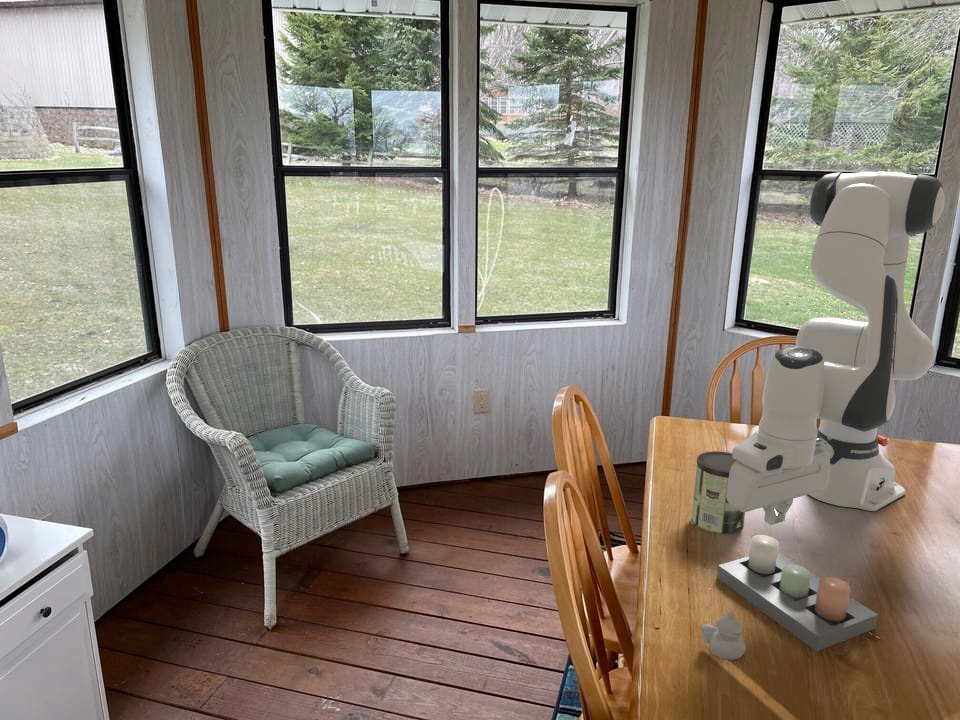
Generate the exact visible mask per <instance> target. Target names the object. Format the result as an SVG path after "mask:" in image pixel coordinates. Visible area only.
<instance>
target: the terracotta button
mask: <svg viewBox="0 0 960 720" xmlns="http://www.w3.org/2000/svg"><path fill="white" fill-rule="evenodd" d="M850 595H851V586H850V585H849V583H848V582H846V581H845V580H843V579H841V578H837V577H834V576H824V577H823V576H822V577H821V578H820V580H819V586H818V592H817V597H816V603H815V612H816V613H817V614H818V615H819V616H820V617H822V618H824V619H827V620H830V621H842V620H844V619H845V616H846V611H847V606H848V600H849V597H850Z"/></svg>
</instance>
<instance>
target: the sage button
mask: <svg viewBox="0 0 960 720" xmlns="http://www.w3.org/2000/svg"><path fill="white" fill-rule="evenodd" d="M798 565H799V564H798ZM798 565H792V564H790V565H785V566H783V568H782V573H781V580H780V586H779V590H780V591H781V592H783V593H784V594H785V595H787V596H788V597H790V598H791V599H793V600H794V601H797V600H800V599H803V598H806V597H808V592H809V586H810V580H811V573H812V572H811V571H809V569H807V568H806V567H804V566H802V565H800V566H798ZM810 572H811V573H810Z"/></svg>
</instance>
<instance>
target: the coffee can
mask: <svg viewBox="0 0 960 720" xmlns="http://www.w3.org/2000/svg"><path fill="white" fill-rule="evenodd" d="M736 461H737V460H736V459H734V458H733V457H732V452H727V451H706V452H702V453H700V454H698V455H697V457H696V463H697V464H696V471H695V479H694V480H695V483H694V490H693V491H694V492H693V503H692V511H691V517H690V523H691V525H694V524H695V525H696V526H697V527H699V528H701V529H702V530H704V531H707V532H710V533H716V534H720V535H721V534H724V535H726V534H727V535H728V534H735V533H738V532H740V531H742V530H743V529H744V523H745V516H746V512H741V511H739V510H738V509H736V508H734V507H733V506H731V505H730V504H729V502H728V501H727V485H728V479H729V473H730V469H731V467H732V465H733V464H734V462H736Z"/></svg>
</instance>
